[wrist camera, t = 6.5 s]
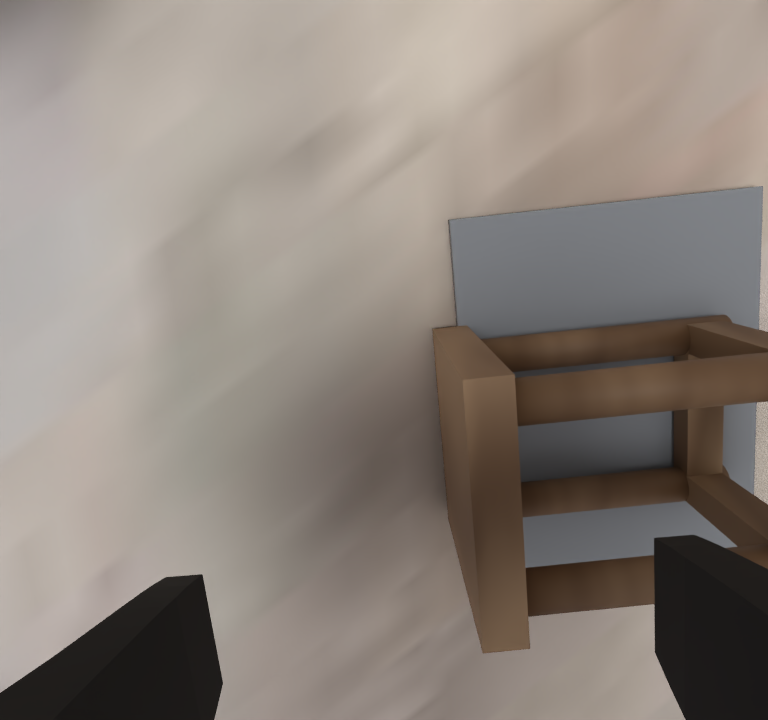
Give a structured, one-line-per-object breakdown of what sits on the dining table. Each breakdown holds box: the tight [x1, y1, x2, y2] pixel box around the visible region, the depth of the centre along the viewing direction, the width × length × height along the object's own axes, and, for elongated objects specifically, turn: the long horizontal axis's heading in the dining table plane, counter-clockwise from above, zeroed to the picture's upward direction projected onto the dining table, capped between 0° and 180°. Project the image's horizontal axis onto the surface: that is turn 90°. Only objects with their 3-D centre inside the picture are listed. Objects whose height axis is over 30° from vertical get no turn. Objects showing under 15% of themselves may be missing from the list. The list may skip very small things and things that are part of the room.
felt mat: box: [449, 186, 763, 568], centre depth 18 cm, size 12×8×1 cm
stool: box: [432, 315, 768, 653], centre depth 15 cm, size 6×6×8 cm
